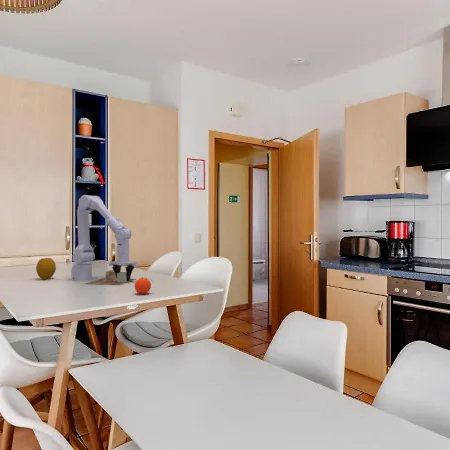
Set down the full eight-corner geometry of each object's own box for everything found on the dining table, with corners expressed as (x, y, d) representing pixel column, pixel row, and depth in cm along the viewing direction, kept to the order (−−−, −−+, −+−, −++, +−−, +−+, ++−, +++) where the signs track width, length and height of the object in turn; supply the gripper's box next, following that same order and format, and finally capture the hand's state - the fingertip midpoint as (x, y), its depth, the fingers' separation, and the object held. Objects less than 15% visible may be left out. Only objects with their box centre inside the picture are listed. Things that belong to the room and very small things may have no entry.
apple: (51, 280, 212) (50, 258, 211) (32, 280, 212) (32, 258, 212) (59, 277, 221) (58, 256, 221) (41, 277, 222) (41, 256, 221)
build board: (82, 286, 194) (82, 283, 194) (103, 279, 214) (103, 277, 214) (120, 287, 191) (120, 285, 191) (137, 280, 210) (137, 278, 210)
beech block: (105, 280, 206) (105, 271, 206) (109, 278, 210) (109, 270, 210) (113, 280, 205) (113, 271, 205) (118, 279, 209) (117, 270, 209)
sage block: (117, 282, 199) (117, 273, 199) (121, 280, 204) (121, 271, 204) (125, 282, 198) (125, 273, 198) (129, 281, 203) (129, 272, 203)
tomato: (150, 291, 180) (150, 275, 180) (155, 294, 174) (155, 277, 174) (132, 293, 176) (132, 276, 176) (137, 296, 170) (136, 279, 170)
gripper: (105, 253, 198) (105, 281, 199) (133, 254, 195) (133, 282, 196) (112, 252, 205) (112, 279, 205) (139, 252, 202) (139, 280, 203)
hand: (123, 280), depth 201 cm, fingers closed on sage block, 4 cm apart
